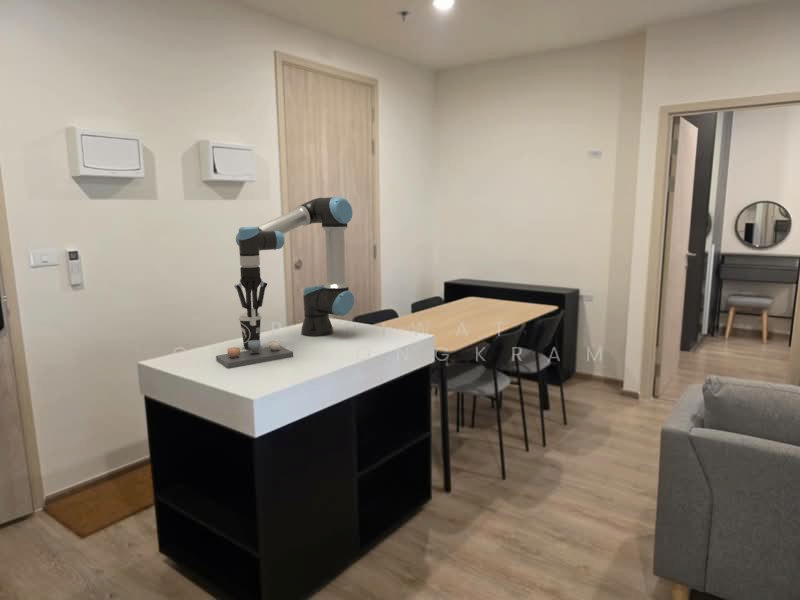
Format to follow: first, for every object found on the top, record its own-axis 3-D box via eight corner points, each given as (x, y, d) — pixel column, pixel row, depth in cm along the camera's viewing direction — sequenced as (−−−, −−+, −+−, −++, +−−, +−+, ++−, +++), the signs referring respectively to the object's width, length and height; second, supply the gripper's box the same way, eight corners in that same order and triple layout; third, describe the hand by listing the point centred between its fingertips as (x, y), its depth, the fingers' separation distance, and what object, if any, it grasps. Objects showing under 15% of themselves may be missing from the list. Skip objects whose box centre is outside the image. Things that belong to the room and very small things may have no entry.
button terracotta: (238, 357, 218) (237, 346, 218) (242, 359, 215) (241, 349, 214) (226, 359, 216) (225, 348, 215) (230, 361, 212) (229, 351, 211)
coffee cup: (257, 350, 232) (255, 316, 230) (236, 350, 234) (234, 315, 232) (266, 345, 241) (265, 312, 239) (247, 344, 243) (245, 311, 241)
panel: (279, 349, 234) (279, 345, 233) (293, 356, 222) (293, 351, 222) (216, 360, 218) (215, 355, 218) (227, 368, 207) (227, 363, 206)
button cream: (277, 350, 228) (277, 340, 227) (282, 352, 224) (282, 342, 224) (267, 352, 225) (266, 342, 225) (271, 354, 222) (271, 344, 221)
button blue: (258, 349, 223) (257, 339, 222) (262, 351, 219) (262, 341, 218) (246, 351, 220) (246, 341, 219) (251, 353, 216) (250, 343, 216)
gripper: (262, 264, 221) (264, 321, 224) (230, 266, 213) (233, 325, 217) (269, 266, 215) (272, 324, 218) (237, 268, 207) (240, 328, 211)
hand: (253, 324), depth 218 cm, fingers closed
